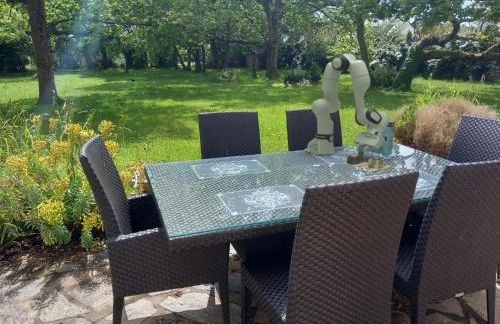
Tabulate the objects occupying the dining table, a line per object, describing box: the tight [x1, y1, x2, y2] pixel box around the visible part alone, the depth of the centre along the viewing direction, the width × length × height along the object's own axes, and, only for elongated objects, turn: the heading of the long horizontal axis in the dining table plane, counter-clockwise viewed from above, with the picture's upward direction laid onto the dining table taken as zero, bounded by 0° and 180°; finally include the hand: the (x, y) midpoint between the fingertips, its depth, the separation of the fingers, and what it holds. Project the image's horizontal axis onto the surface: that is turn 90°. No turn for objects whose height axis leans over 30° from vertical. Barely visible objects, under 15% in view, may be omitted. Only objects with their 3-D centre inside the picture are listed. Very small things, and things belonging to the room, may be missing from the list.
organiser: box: [343, 155, 392, 173], centre depth 262 cm, size 24×17×6 cm
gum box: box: [364, 120, 395, 156], centre depth 299 cm, size 20×5×23 cm, turn 39°
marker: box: [357, 143, 365, 161], centre depth 270 cm, size 4×4×11 cm
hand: (360, 150), depth 269 cm, fingers closed on marker, 3 cm apart
